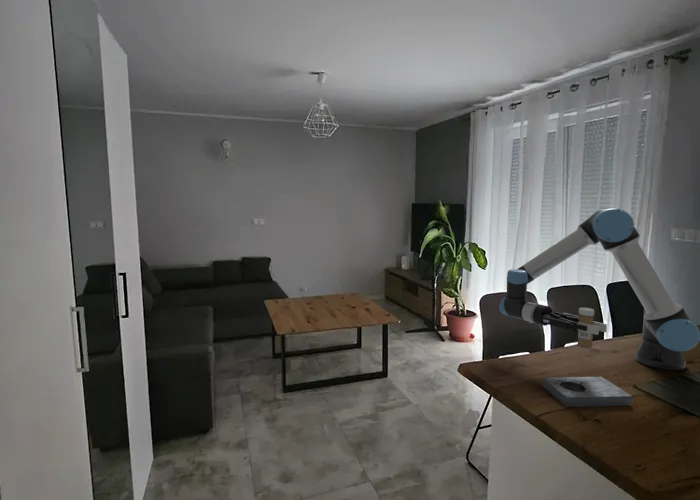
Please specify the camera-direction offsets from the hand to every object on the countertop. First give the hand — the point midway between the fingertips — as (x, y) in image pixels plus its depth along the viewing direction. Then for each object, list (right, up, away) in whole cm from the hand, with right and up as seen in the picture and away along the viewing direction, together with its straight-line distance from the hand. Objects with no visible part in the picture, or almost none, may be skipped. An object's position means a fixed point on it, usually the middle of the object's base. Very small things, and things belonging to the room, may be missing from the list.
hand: (602, 329), depth 131 cm
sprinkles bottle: (-3, -7, +5) cm, 9 cm away
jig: (-9, -20, -6) cm, 23 cm away
